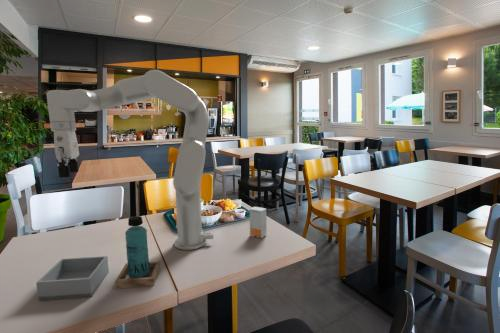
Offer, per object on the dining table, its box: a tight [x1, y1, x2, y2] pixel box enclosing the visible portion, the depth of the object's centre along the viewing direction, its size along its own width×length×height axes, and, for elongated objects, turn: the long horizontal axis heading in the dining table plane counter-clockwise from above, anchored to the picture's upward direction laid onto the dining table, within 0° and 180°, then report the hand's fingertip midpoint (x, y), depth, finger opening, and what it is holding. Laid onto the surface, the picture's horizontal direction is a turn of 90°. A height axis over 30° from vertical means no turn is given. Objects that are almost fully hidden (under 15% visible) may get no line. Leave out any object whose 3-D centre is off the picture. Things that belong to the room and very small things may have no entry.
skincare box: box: [249, 206, 267, 239], centre depth 126 cm, size 6×4×12 cm
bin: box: [36, 255, 110, 302], centre depth 91 cm, size 14×14×6 cm
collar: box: [114, 260, 161, 290], centre depth 95 cm, size 11×11×2 cm
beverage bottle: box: [124, 215, 150, 278], centre depth 94 cm, size 6×7×20 cm
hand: (69, 174), depth 108 cm, fingers open, 9 cm apart
